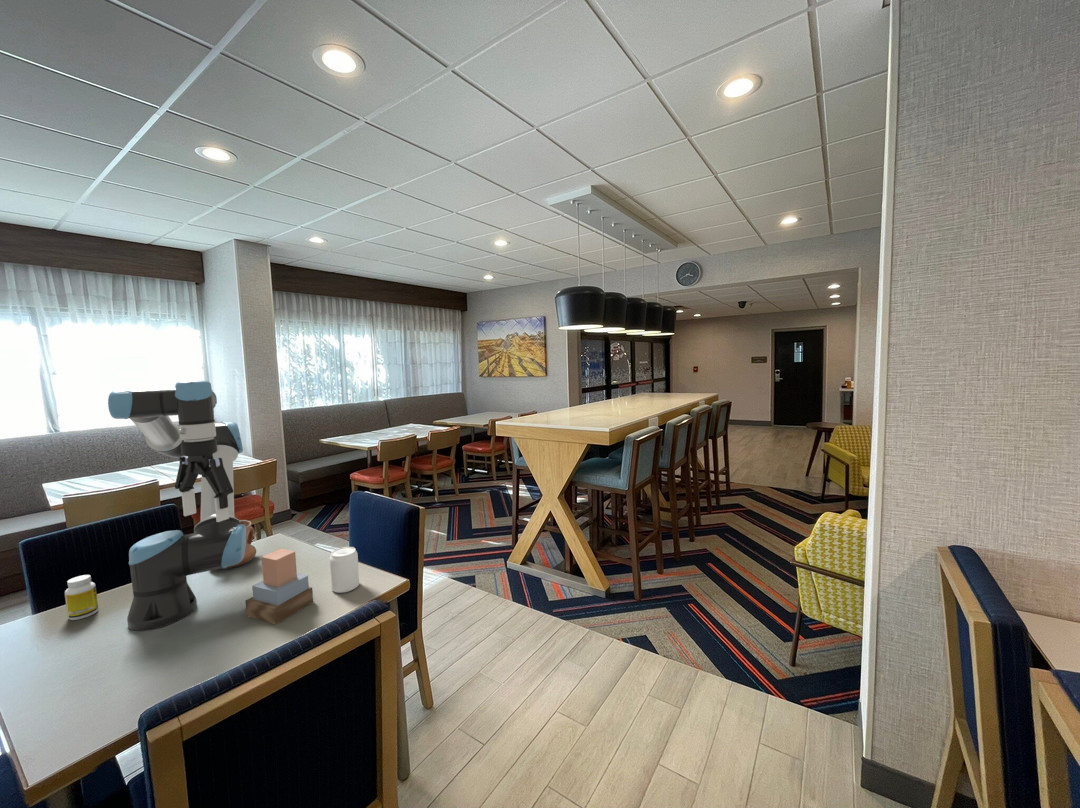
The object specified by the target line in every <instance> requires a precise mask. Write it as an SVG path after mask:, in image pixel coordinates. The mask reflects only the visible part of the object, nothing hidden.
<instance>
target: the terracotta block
mask: <svg viewBox="0 0 1080 808" xmlns="http://www.w3.org/2000/svg"><path fill="white" fill-rule="evenodd" d="M261 567H262V581H264V584H267V585H271V586H275V587H280V586H282V585H284V584H286V583H288V582H289V581H291V580H293V579H295V578H297V573H298V571H297V558H296V551H295V550H290V549H285V548H278V549H277V550H275V551H272V552H270V553H267V554H265V555H263V556H262V555H261Z"/></svg>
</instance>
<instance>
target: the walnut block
mask: <svg viewBox="0 0 1080 808" xmlns="http://www.w3.org/2000/svg"><path fill="white" fill-rule="evenodd" d="M244 601H245V612H246V613H245V615H246V617H249V618H252V619H256V620H258V621H263V622H267V623H270V624H274V625H278V624H280V623H281V622H283V621H285V620H286V619H287V618H290V617H291V616H293V615H294V614H297V612H300V611H301V610H303V609H304V608H306V607H308V606H309V605H312V604H313V603H314V593H313V586H309V589H307V590H305V591H303V592H301V593H300V594H298V595H296V596H294V597H293V598H291V599H289V600H287V601H285V602H284V603H282V604H280V605H278V606H277V605H273V604H269V603H266V602H262V601H258V600H255V599H253V596H251V597H249V598H247V599H246V600H244Z"/></svg>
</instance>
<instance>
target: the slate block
mask: <svg viewBox="0 0 1080 808" xmlns="http://www.w3.org/2000/svg"><path fill="white" fill-rule="evenodd" d="M309 584H310V583H309V575H307V574H305V573H304V574H303V573H298V572H297V578H295V579H293V580H291V581H289V582H288V583H286V584H284V585H282V586H280V587H275V586H271V585H267V584H264V581H263V580H261V581H258V582H256V583H255V584H252V586H251V588H252V597H253V599H255V600H258V601H262V602H266V603H269V604H273V605H277V606H278V605H280V604H282V603H284V602H285V601H287V600H289V599H291V598H293V597H294V596H296V595H298V594H300V593H301V592H303V591H305V590H307V589H309V587H310V585H309Z"/></svg>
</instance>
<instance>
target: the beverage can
mask: <svg viewBox="0 0 1080 808" xmlns="http://www.w3.org/2000/svg"><path fill="white" fill-rule="evenodd" d="M358 558H359V557H358V551H357V550H356V548H355V547H354V546H344V547H343V546H342V547H339V548H336V549H334V550H333V551H331V552H330V556H329V568H330V572H329V573H330V583H331V590H332V591H333V593H334V592H335V593H339V594H340V593H341V594H342V593H343V594H344V593H348V592H351V591H353V590H354V589H356V588H358V586H359V585H360V572H359V571H360V570H359V559H358Z"/></svg>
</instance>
